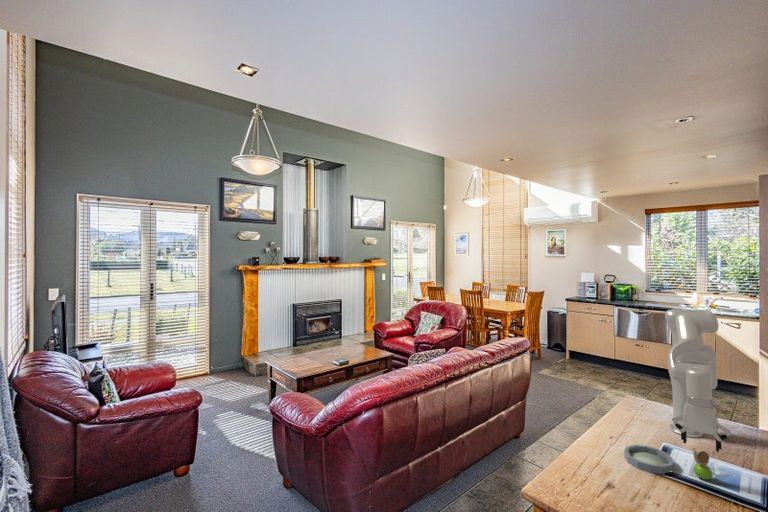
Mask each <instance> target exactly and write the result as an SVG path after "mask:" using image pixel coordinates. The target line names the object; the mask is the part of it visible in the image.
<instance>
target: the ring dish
mask: <svg viewBox="0 0 768 512" xmlns="http://www.w3.org/2000/svg"><path fill="white" fill-rule="evenodd" d="M623 454H624V455H623V456H624V459H625V461H626V462H627V463H628V464H629V465H631V466H633V467H634V468H636V469H638V470H641V471H643V472H647V473H649V474H657V475H658V474H659V475H666V474H665V473H666V472H669V471H672V470H673V471H674V469H673V467H674V468H675V460H674V459H673V457H672V456H671V455H670V454H669V453H667V452H665V451H663V450H661V449H659V448H656V447H653V446H649V445H643V444H642V445H641V444H633V445H632V444H631V445H627V446H626V447H625V448H624V450H623ZM661 457H662V458H661ZM663 458H664V459H663ZM665 459H666V461H665Z"/></svg>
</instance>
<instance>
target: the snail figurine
mask: <svg viewBox="0 0 768 512" xmlns="http://www.w3.org/2000/svg"><path fill="white" fill-rule="evenodd" d="M691 448H692V454H693V459H694V461H695V462H696V464H694V466H693V472H694V474H695V475H696V476H697V477H698V478H699V477H700V478H699V479H701V478H702V480H705V479H707V480H710V479H711V478H712V477H713V472H712V469H711V468H710V467H709V466H708V464H709V462H710V455H709V453H708V452H706V451H699V452H697V451H696V448H694V447H691Z"/></svg>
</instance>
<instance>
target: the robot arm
mask: <svg viewBox="0 0 768 512" xmlns="http://www.w3.org/2000/svg"><path fill="white" fill-rule="evenodd" d="M664 318H665V321H666V324H667V327H668V328H669V330H670V333H671V341H672V342H671V343H672V345H671V348H670V349H669V351H668V353H667V357H666V358H667V368H668V373H669V374H668V375H669V377H670V382H671V389H672V391H671V392H672V411H673V413H672V418H671V421H672V423H671V424H670V425H669V429H670V430H671V432H673V433H675V434H678V435H680V436H681V437H680V438H681V441H683V444H686V443H687V441H688V440H687V438H702V437H703V436H704V434H706V435H711V436H713V437H714V438H715V451H716V452H718V453H719V451H720V450H722V448H723V447H722V442H723V441H724V440H726V439H728V437H729V436H730V435H731V433H732V431H731V430H730V429H729V428H728V427H725V426H723V425H722V424H720V423H718V421H719V420H718V414H717V410H716V407H715V406H718V401H717V400H714V399H713V390H715V389H716V388H717V387H718V367H717V355H716V354H717V353H716V351H715V349H714V348H713V347H712V346H710V345H709V344H708V345H707V344H704V343H705V342H704V339H703V338H704V337H703V333H706V334H715V333H717V332H719V331H718V330H719V320H718V318H717V317H716V315H715V314H714V313H713V312H712V311H710V310H705V309H687V308H685V309H684V308H683V309H682V308H673V309H672V308H671V309H668V310H666V311H665V314H664ZM719 430H720V431H723V432H724V433H723V434H720V433H719Z"/></svg>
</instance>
